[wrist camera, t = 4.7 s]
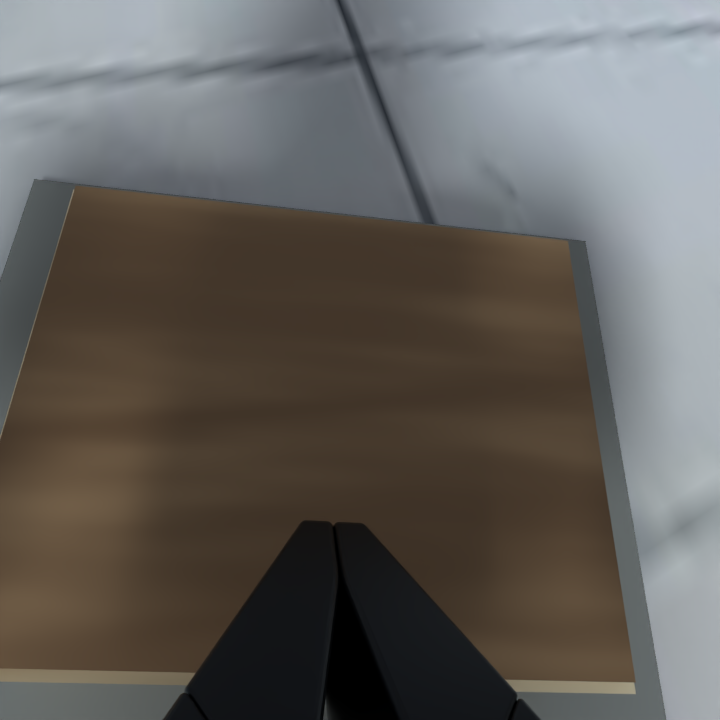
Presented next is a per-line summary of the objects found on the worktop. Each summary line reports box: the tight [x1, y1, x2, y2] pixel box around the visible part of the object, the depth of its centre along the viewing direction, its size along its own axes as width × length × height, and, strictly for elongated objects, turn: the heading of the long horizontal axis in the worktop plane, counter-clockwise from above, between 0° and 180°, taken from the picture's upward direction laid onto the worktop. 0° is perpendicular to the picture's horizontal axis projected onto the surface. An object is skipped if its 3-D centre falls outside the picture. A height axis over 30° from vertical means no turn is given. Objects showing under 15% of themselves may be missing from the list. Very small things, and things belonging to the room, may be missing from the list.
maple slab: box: [0, 186, 636, 694], centre depth 14 cm, size 4×12×10 cm
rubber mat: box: [0, 179, 666, 720], centre depth 15 cm, size 21×18×1 cm
